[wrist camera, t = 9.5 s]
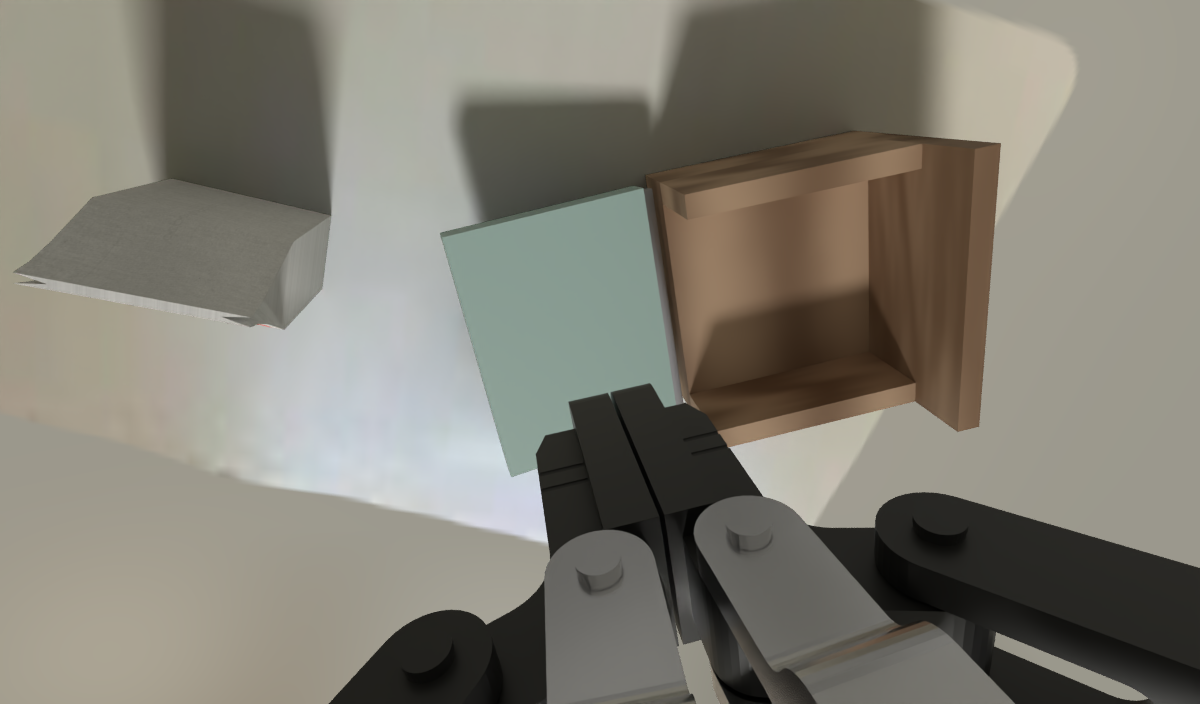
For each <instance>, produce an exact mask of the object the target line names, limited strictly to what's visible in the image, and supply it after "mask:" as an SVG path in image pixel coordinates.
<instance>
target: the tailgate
mask: <svg viewBox="0 0 1200 704" xmlns="http://www.w3.org/2000/svg"><path fill="white" fill-rule="evenodd" d="M440 235H441V239H442V242H443V246H444V249H445V253H446V256H447V260H448V263H449V267H450V270H451V273H452V277H453V280H454V284H455V287H456V291H457V294H458V298H459V301H460V304H461V308H462V311H463V315H464V318H465V322H466V325H467V329H468V332H469V336H470V339H471V342H472V346H473V349H474V353H475V356H476V360H477V363H478V367H479V370H480V373H481V377H482V380H483V384H484V387H485V391H486V394H487V398H488V401H489V405H490V408H491V411H492V415H493V418H494V422H495V425H496V429H497V432H498V436H499V439H500V443H501V446H502V449H503V453H504V456H505V460H506V463H507V466H508V469H509V472H510V475H511V477H514V476H516V475H519V474H522V473H525V472H528V471H531V470H534V469H537V468H538V467H537V460H536V453H537V451H538V449H539V447H540V445H541V443H542V441H543V439H544V437H545V435H549V434H553V433H558V432H562V431H566V430H571V429H573V424H572V419H571V414H570V409H569V403H568V402H569V401H574V400H578V399H582V398H587V397H591V396H596V395H600V394H604V393H608V394H609V396H610V393H611V392H613V391H617V390H622V389H626V388H630V387H635V386H639V385H644V384H648V383H650V384H651V385H652V386H653V388H654V390H655V391H656V393H657V395H658V397H659V398H660V400H661V402H662V404H663V405H664V407H670V406H674V405H678V404H683V398H682V391H681V384H680V377H679V370H678V363H677V356H676V349H675V342H674V336H673V329H672V322H671V315H670V308H669V301H668V294H667V287H666V280H665V273H664V267H663V260H662V253H661V246H660V239H659V232H658V225H657V218H656V211H655V204H654V198H653V191H652V188H641V187H637V186H630V187H626V188H622V189H618V190H614V191H610V192H606V193H602V194H598V195H594V196H589V197H585V198H581V199H577V200H573V201H569V202H565V203H561V204H557V205H553V206H548V207H544V208H540V209H536V210H532V211H528V212H524V213H520V214H516V215H511V216H507V217H503V218H499V219H495V220H491V221H487V222H483V223H479V224H475V225H470V226H466V227H462V228H458V229H454V230H450V231H446V232H442V233H440ZM610 398H611V396H610Z"/></svg>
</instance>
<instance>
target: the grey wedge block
mask: <svg viewBox="0 0 1200 704" xmlns="http://www.w3.org/2000/svg"><path fill="white" fill-rule="evenodd" d="M330 222H331V215H327V214H323V213H319V212H314V211H310V210H306V209H301V208H297V207H293V206H288V205H284V204H280V203H275V202H271V201H267V200H263V199H258V198H254V197H250V196H245V195H241V194H237V193H232V192H228V191H224V190H219V189H215V188H211V187H206V186H202V185H198V184H194V183H189V182H185V181H181V180H176V179H172V178H171V179H167V180H163V181H159V182H155V183H150V184H146V185H142V186H138V187H134V188H130V189H126V190H121V191H117V192H113V193H109V194H105V195H101V196H96V197H92V198H91V199H90V200H89V201H88V202H87V204H86V205H85V206H84V207H83V208H82V209H81V210H80V211H79V212H78V213H77V214H76V215H75V216H74V217H73V218H72V219H71V221H70V222H69V223H68V224H67V225H66V226H65V227H64V228H63V229H62V230H61V231H60V232H59V233H58V234H57V235H56V236H55V238H54V239H53V240H52V241H51V242H50V243H49V244H48V245H46V246H45V247H44V248H43V249H42V250H41V251H40V252H39V253H38V254H37V255H36V256H34V257H33V258H32V259H31V260H30V261H29V262H27V263H26V264H24V265H23V266H21V267H20V268H18V269H17V270H15V271H14V272H13V273H16V274H19V275H22V276H25V277H28V278H31V279H34V281H29V282H20V283H15V284H20V285H26V286H31V287H36V288H42V289H47V290H53V291H58V292H63V293H69V294H74V295H79V296H85V297H90V298H96V299H101V300H106V301H112V302H117V303H123V304H128V305H133V306H139V307H144V308H150V309H155V310H160V311H166V312H171V313H177V314H182V315H187V316H193V317H198V318H204V319H209V320H214V321H220V322H225V323H230V324H236V325H241V326H247V327H252V326H255V325H262V326H267V327H272V328H278V329H283V330H285V328H286V327H287V326H288V325H289V324H290V323H291V322H292V321H293V320H294V319H295V318H296V317H297V316H298V314H299V313H300V312H301V311H302V310H303V309H304V308H305V307H306V306H307V305H308V304H309V303H310V301H311V300H312V299H313V298H314V297H315V296H316V295H317V294H318V293H319V292H320V291H321V290H322V286H323V278H324V270H325V262H326V254H327V246H328V238H329V230H330Z"/></svg>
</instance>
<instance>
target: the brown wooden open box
mask: <svg viewBox="0 0 1200 704" xmlns="http://www.w3.org/2000/svg"><path fill="white" fill-rule="evenodd" d="M1000 148H1001V143H990V142H979V141H967V140H955V139H944V138H932V137H920V136H909V135H897V134H885V133H874V132H862V131H851V132H846V133H841V134H836V135H832V136H827V137H822V138H818V139H813V140H808V141H803V142H799V143H794V144H789V145H785V146H780V147H775V148H770V149H766V150H761V151H756V152H752V153H747V154H742V155H737V156H733V157H728V158H723V159H718V160H714V161H709V162H704V163H700V164H695V165H690V166H685V167H681V168H676V169H671V170H667V171H662V172H657V173H652V174H648V175H645V177H646V184H647V188H652V191H653V198H654V204H655V211H656V218H657V225H658V232H659V239H660V246H661V253H662V260H663V267H664V273H665V280H666V287H667V294H668V301H669V308H670V315H671V322H672V329H673V336H674V342H675V349H676V356H677V363H678V370H679V377H680V384H681V391H682V396H683V398H684V399H685V401H686V403H687V404H688V405H690V406H692V407H694V408H696V409H698V410H699V411H701V412H703V413H705V414H706V415H707V416H708V417H709V419H710V420H711V422H712V423H713V425H714V426H715V428H716V429H717V430H718V434H720V435H721V436H722V438H723V439H724V441H725V442H726V443H727V447H731V446H735V445H739V444H744V443H748V442H752V441H756V440H760V439H764V438H768V437H772V436H776V435H780V434H784V433H788V432H792V431H796V430H800V429H804V428H808V427H812V426H817V425H821V424H825V423H829V422H833V421H837V420H841V419H845V418H849V417H853V416H857V415H861V414H865V413H869V412H873V411H877V410H881V409H886V408H890V407H894V406H897V405H902V404H905V403H910V402H914V401H916V402H917V403H918V404H920V405H921V406H923V407H924V408H925V409H927V410H928V411H930V412H931V413H932V414H934V415H935V416H937V417H938V418H939V419H941V420H942V421H943V422H945V423H946V424H948V425H949V426H950V427H952V428H953V429H955V430H956V431H957V432H959V431H963V430H967V429H971V428H975V427H979V420H980V407H981V394H982V393H981V392H982V381H983V368H984V355H985V342H986V329H987V316H988V303H989V291H990V278H991V277H990V276H991V265H992V251H993V238H994V226H995V213H996V200H997V187H998V174H999V161H1000Z"/></svg>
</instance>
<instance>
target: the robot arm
mask: <svg viewBox="0 0 1200 704" xmlns="http://www.w3.org/2000/svg"><path fill="white" fill-rule="evenodd" d="M610 396H611V398H610ZM610 396H609V394H608V393H604V394H600V395H596V396H591V397H587V398H582V399H578V400H574V401H569V402H568V403H569V409H570V414H571V419H572V424H573V429H571V430H566V431H562V432H558V433H553V434H549V435H545V437H544V439H543V441H542V443H541V445H540V447H539V449H538V451H537V453H536V460H537V467H538V474H539V481H540V488H541V495H542V502H543V509H544V516H545V523H546V530H547V537H548V544H549V550H550V561H549V563H548V565H547V567H546V571H545V578H544V581H543V583H542V585H541V586H540V587H539V588H538V590H537V591H536V592H535V593H534V594H533V595H532V596H531V597H530V598H529V599H528V600H527V601H526V602H524V603H523V604H522V605H520V606H519V607H517V608H516V609H514V610H512V611H511V612H509V613H507V614H505V615H503V616H502V617H500V618H498V619H496V620H494V621H493V622H491V623H489V624H487V625H486V624H485V623H484V622H483V621H482V620H481V619H480V618H479V617H477V616H476V615H474V614H471V613H469V612H465V611H461V610H445V611H438V612H434V613H430V614H427V615H425V616H422V617H420V618H418V619H415V620H413V621H412V622H410V623H408V624H407V625H405V626H403V627H402V628H401V629H400V630H398V631H397V632H396V633H394V634H393V635H392V636H391V637H390V638H389V639H388V640H387V641H386V642H385V643H384V644H383V645H382V646H381V648H379V650H378V651H377V652H376V653H375V654H374V655H373V656H372V657H371V658H370V660H369V661H368V662H367V663H366V664H365V665H364V666H363V667H362V668H361V669H360V670H359V671H358V673H357V674H356V675H355V676H354V677H353V678H352V679H351V680H350V681H349V682H348V683H347V685H346V686H345V687H344V688H343V689H342V690H341V691H340V692H339V693H338V694H337V695H336V696H335V697H334V699H333V700H332V701H331V702H330V703H329V704H696V701H695V699H694V696H693V694H690V693H689V690H688V687H687V683H686V680H685V675H684V671H683V667H682V663H681V659H680V656H679V652H678V648H677V646H679V644H678V637H677V630H676V626H677V628H678V631H679V634H680V637H681V640H682V642H683V644H687V643H691V642H695V641H698V640H702V643H703V645H704V648H705V650H706V653H707V655H708V658H709V661H710V669H711V677H712V684H713V689H714V692H715V694H716V697H717V699H718V701H719V703H720V704H1200V568H1198V567H1194V566H1191V565H1187V564H1184V563H1180V562H1177V561H1174V560H1170V559H1167V558H1163V557H1160V556H1157V555H1153V554H1150V553H1146V552H1143V551H1139V550H1136V549H1132V548H1129V547H1125V546H1122V545H1119V544H1115V543H1112V542H1108V541H1105V540H1102V539H1098V538H1095V537H1091V536H1088V535H1085V534H1081V533H1078V532H1074V531H1071V530H1067V529H1064V528H1061V527H1057V526H1054V525H1050V524H1047V523H1043V522H1040V521H1036V520H1033V519H1030V518H1026V517H1023V516H1019V515H1016V514H1012V513H1009V512H1005V511H1002V510H998V509H995V508H992V507H988V506H985V505H982V504H978V503H975V502H971V501H968V500H964V499H961V498H958V497H954V496H949V495H945V494H939V493H925V492H922V493H910V494H905V495H901V496H898V497H895V498H893V499H891V500H889V501H888V502H887V503H885V504H884V505H883V506H882V507H881V508H880V509H879V511H878V513H877V515H876V520H875V528H823V527H816V526H811V525H807V524H806V523H805V522H804V521H803V520H802V518H801V517H800V516H799V515H798V514H797V513H796V512H795V511H794V510H793V509H791V508H790V507H788V506H787V505H785V504H783V503H781V502H779V501H776V500H773V499H770V498H766V497H763V496H762V494H761V493H760V491H759V490H758V488H757V487H756V485H755V484H754V483H753V481H752V480H751V478H750V477H749V475H748V474H747V472H746V471H745V470H744V468H743V467H742V465H741V464H740V462H739V461H738V459H737V458H736V457H735V455H734V454H733V452H732V451H731V449H730V448H728V447H727V443H726V442H725V441H724V439H723V438H722V436H721V435H720V434H718V430H717V429H716V428H715V426H714V425H713V423H712V422H711V420H710V419H709V417H708V416H707V415H706V414H705V413H703V412H701V411H699V410H698V409H696V408H694V407H692V406H690V405H688V404H686V403H683V404H678V405H674V406H670V407H664V405H663V404H662V402H661V400H660V398H659V397H658V395H657V393H656V391H655V390H654V388H653V386H652V385H651V384H650V383H648V384H644V385H639V386H635V387H630V388H626V389H622V390H617V391H613V392H611V393H610ZM675 623H676V624H675ZM996 632H997V633H1000V634H1002V635H1005V636H1007V637H1010V638H1012V639H1014V640H1017V641H1019V642H1022V643H1025V644H1027V645H1029V646H1032V647H1034V648H1037V649H1039V650H1042V651H1044V652H1047V653H1049V654H1051V655H1054V656H1057V657H1059V658H1062V659H1064V660H1066V661H1069V662H1071V663H1074V664H1076V665H1079V666H1081V667H1084V668H1086V669H1088V670H1091V671H1094V672H1096V673H1098V674H1101V675H1103V676H1106V677H1108V678H1111V679H1113V680H1116V681H1118V682H1121V683H1123V684H1125V685H1127V686H1130V687H1132V688H1133V689H1135V690H1137V691H1139V692H1140V693H1142V694H1143V695H1145V696H1146V697H1148V698H1149V699H1146V700H1141V701H1130V700H1124V699H1120V698H1116V697H1114V696H1111V695H1108V694H1106V693H1104V692H1101V691H1099V690H1096V689H1094V688H1091V687H1089V686H1087V685H1085V684H1082V683H1080V682H1077V681H1075V680H1073V679H1070V678H1068V677H1065V676H1063V675H1061V674H1058V673H1056V672H1054V671H1051V670H1049V669H1046V668H1044V667H1042V666H1039V665H1037V664H1034V663H1032V662H1030V661H1027V660H1025V659H1023V658H1020V657H1018V656H1015V655H1013V654H1011V653H1008V652H1006V651H1003V650H1001V649H999V648H996V647H994V642H995V635H996Z"/></svg>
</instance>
